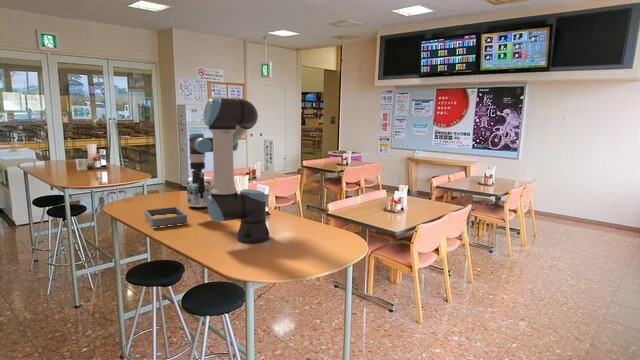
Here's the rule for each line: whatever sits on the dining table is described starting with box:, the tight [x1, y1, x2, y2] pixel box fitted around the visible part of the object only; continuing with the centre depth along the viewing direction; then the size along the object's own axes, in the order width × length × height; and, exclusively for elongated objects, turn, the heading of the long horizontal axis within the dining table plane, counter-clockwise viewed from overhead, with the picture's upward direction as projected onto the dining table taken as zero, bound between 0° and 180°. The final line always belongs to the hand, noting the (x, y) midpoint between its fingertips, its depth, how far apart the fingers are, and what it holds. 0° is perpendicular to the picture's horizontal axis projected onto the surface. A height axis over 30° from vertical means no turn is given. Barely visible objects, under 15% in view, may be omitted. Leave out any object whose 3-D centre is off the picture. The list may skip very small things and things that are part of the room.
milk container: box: [187, 176, 214, 209], centre depth 243 cm, size 17×17×18 cm
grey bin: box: [143, 206, 188, 228], centre depth 209 cm, size 22×17×5 cm
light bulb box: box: [186, 183, 210, 205], centre depth 212 cm, size 11×7×11 cm, turn 143°
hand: (198, 202), depth 213 cm, fingers closed on light bulb box, 8 cm apart
